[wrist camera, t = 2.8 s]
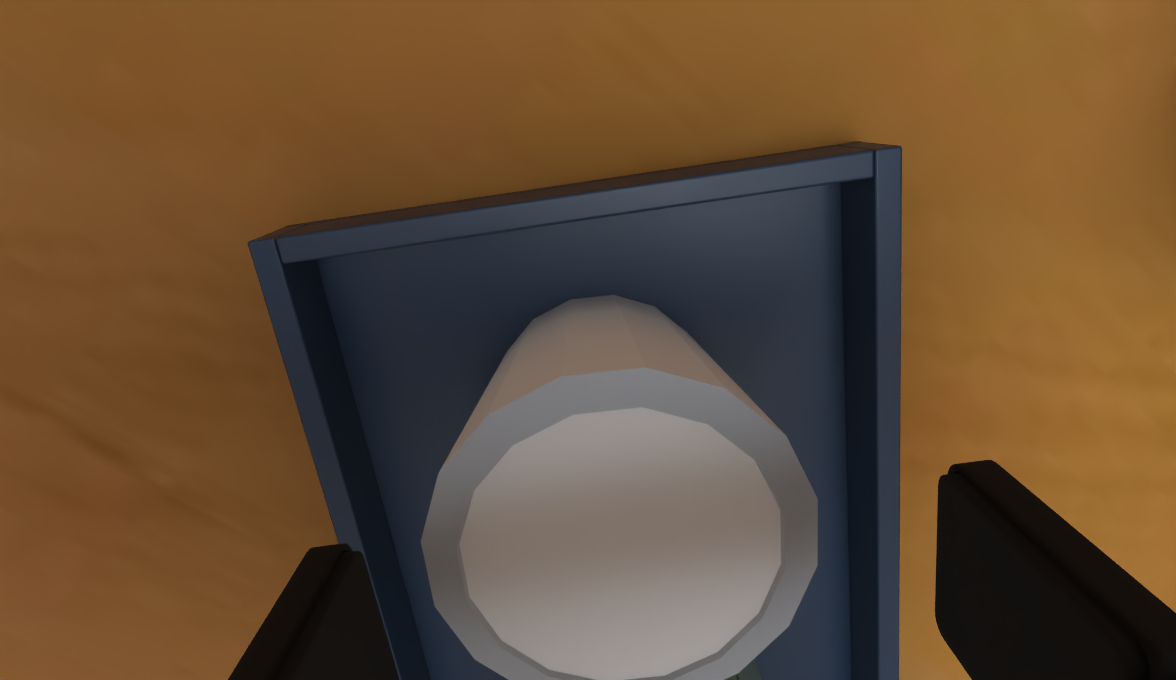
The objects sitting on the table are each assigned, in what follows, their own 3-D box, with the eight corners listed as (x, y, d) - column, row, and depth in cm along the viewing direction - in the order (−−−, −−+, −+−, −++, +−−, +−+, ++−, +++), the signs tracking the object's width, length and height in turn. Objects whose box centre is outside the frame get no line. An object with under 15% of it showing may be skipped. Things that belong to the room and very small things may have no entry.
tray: (453, 812, 23) (441, 884, 21) (287, 225, 17) (246, 242, 15) (867, 756, 23) (898, 824, 21) (858, 141, 17) (903, 145, 14)
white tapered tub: (780, 409, 18) (899, 575, 12) (585, 550, 20) (595, 772, 13) (622, 214, 17) (658, 280, 10) (419, 382, 18) (332, 541, 11)
